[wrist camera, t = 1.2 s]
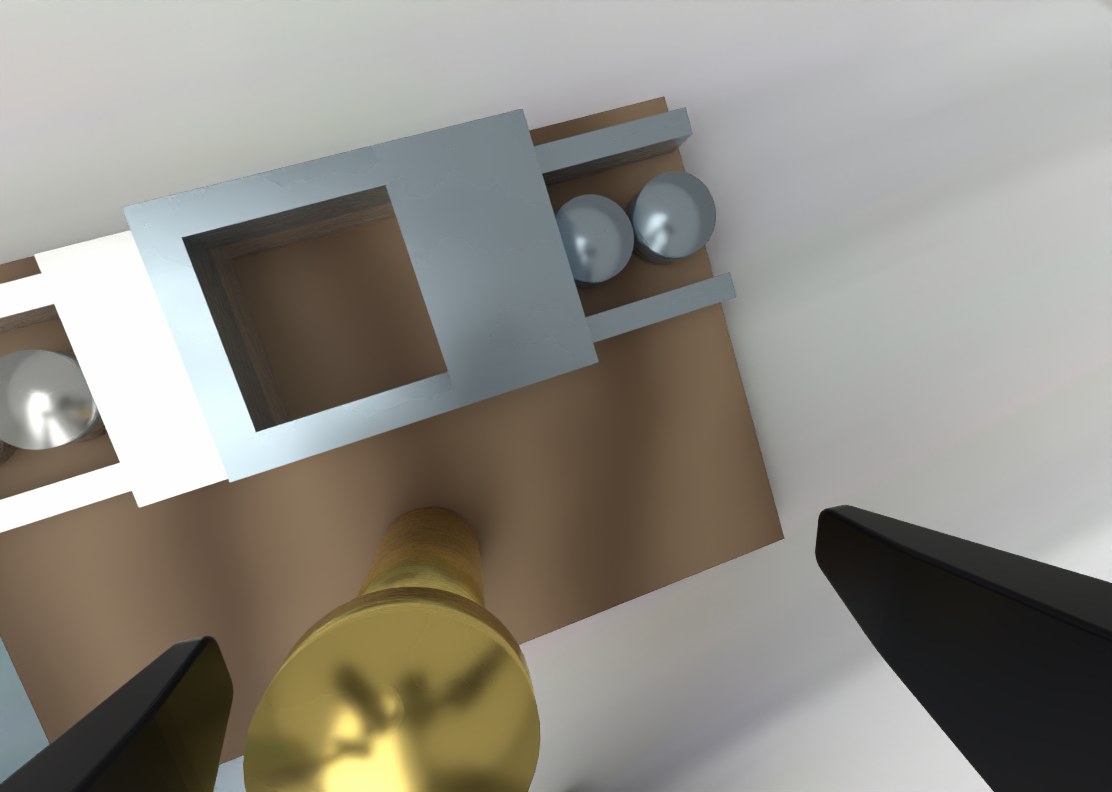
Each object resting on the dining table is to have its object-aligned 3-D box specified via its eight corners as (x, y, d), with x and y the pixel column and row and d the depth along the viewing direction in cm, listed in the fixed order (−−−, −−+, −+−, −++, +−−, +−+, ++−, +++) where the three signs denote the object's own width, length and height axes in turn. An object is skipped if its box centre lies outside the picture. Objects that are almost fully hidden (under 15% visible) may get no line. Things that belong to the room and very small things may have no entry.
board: (115, 780, 18) (83, 818, 16) (-96, 309, 16) (-154, 303, 14) (762, 526, 21) (784, 538, 20) (648, 116, 19) (664, 96, 18)
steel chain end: (-31, 558, 15) (-84, 579, 14) (-141, 320, 14) (-209, 315, 13) (490, 390, 18) (492, 392, 16) (419, 175, 17) (415, 157, 15)
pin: (441, 650, 18) (421, 936, 9) (324, 571, 17) (176, 798, 8) (528, 539, 18) (594, 710, 9) (418, 456, 17) (373, 555, 8)
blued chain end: (271, 461, 16) (229, 482, 14) (185, 236, 16) (121, 207, 13) (721, 315, 19) (769, 306, 16) (665, 112, 18) (706, 63, 15)
